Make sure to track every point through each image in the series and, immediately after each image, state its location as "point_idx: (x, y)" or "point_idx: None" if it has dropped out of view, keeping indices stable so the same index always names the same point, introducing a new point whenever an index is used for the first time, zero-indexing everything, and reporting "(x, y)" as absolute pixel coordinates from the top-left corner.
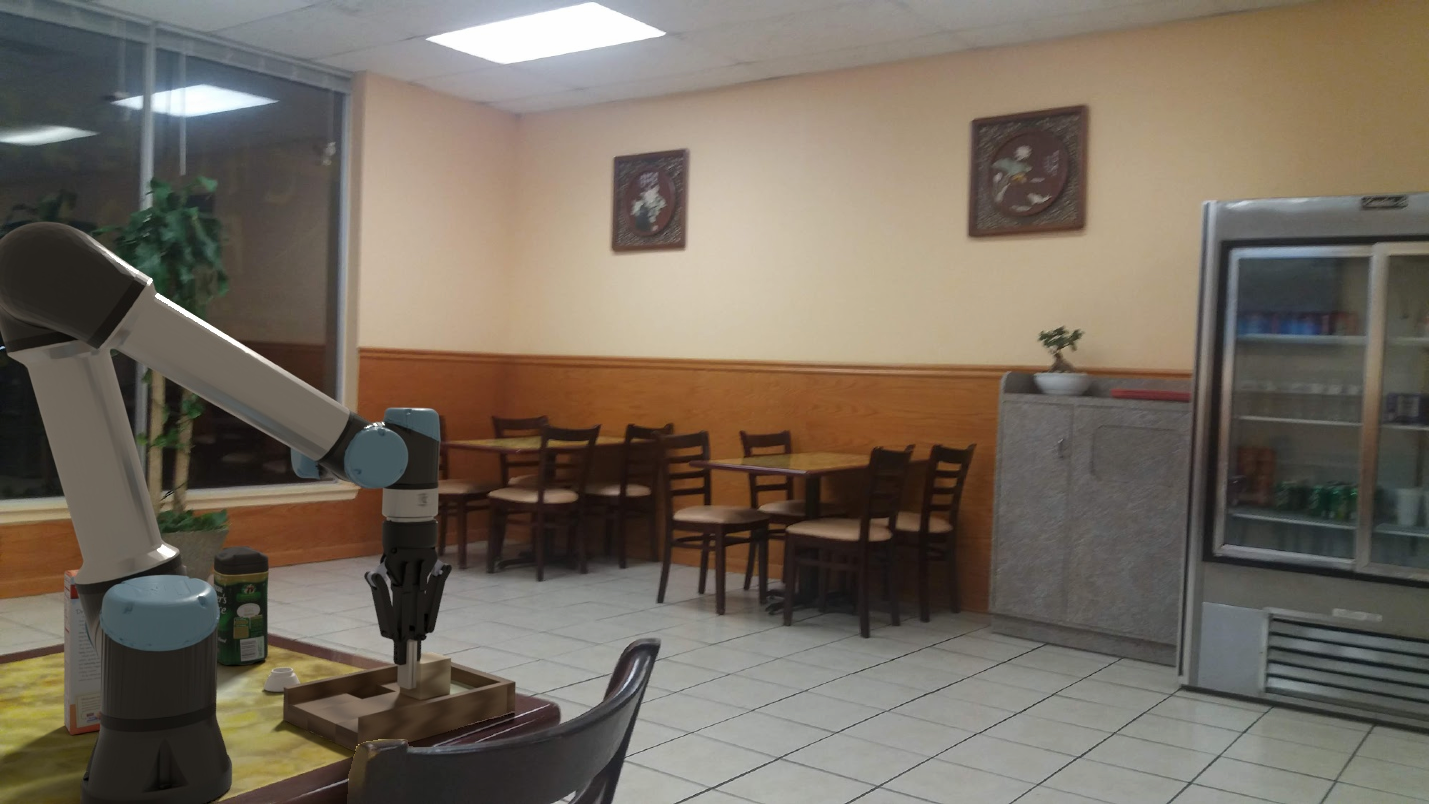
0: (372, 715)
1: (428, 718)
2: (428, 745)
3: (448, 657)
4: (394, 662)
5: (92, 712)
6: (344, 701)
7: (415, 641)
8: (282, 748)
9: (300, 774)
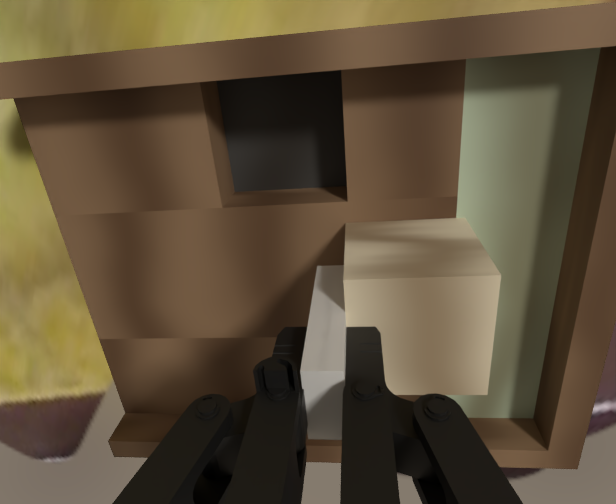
0: (138, 450)
1: None
2: None
3: (485, 385)
4: (282, 332)
5: None
6: (171, 193)
7: (340, 438)
8: (16, 271)
9: (31, 402)
